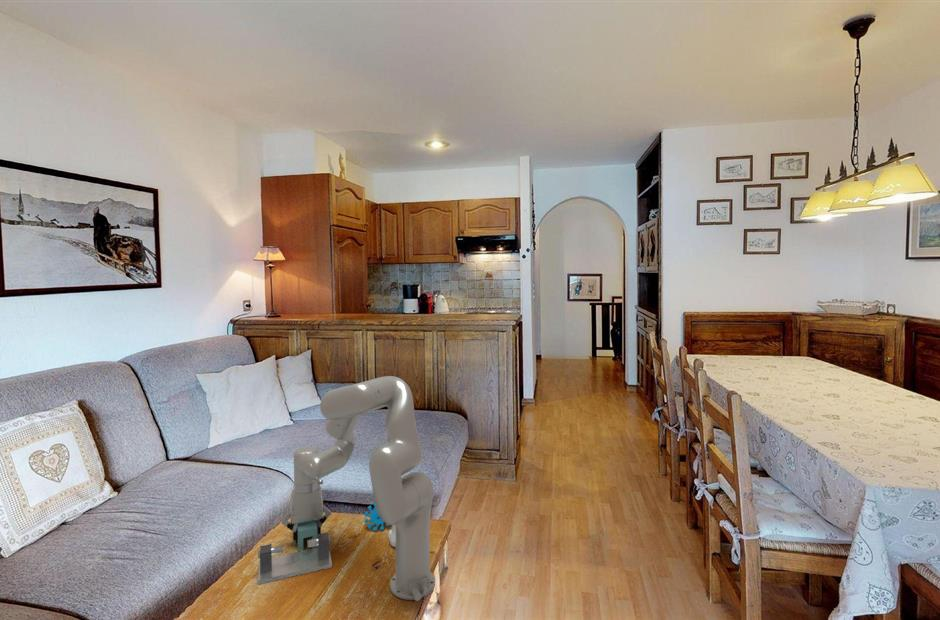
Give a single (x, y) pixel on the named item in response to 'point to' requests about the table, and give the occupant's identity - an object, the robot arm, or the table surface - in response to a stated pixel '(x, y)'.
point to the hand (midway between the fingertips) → (307, 539)
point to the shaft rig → (293, 560)
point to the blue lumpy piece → (374, 518)
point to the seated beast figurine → (392, 536)
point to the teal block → (306, 532)
